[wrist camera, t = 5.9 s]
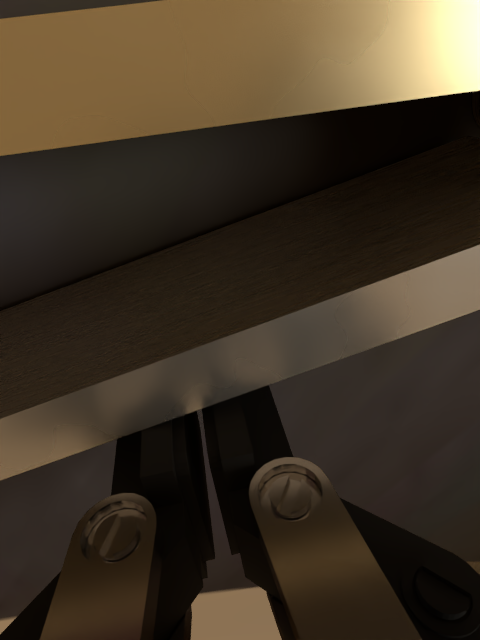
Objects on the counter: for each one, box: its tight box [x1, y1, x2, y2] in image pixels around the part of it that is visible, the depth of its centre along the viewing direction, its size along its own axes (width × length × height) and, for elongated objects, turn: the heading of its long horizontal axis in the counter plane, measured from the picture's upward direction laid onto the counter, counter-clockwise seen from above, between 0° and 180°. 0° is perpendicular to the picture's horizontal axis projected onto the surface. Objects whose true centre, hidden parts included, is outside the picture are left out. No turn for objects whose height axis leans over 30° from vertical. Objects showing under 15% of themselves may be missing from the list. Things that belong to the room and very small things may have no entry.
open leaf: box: [0, 136, 480, 480], centre depth 9 cm, size 15×1×4 cm, turn 108°
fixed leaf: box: [0, 0, 480, 156], centre depth 7 cm, size 18×3×5 cm, turn 96°
